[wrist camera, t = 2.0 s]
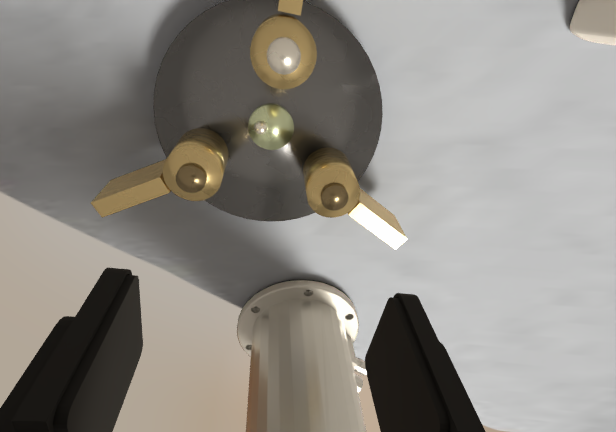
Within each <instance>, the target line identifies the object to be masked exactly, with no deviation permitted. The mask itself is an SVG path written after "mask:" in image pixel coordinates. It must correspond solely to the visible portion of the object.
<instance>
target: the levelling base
mask: <svg viewBox="0 0 616 432" xmlns="http://www.w3.org/2000/svg"><path fill="white" fill-rule="evenodd" d="M278 1H279V0H229V1H226V2H223V3H220V4H218V5H216V6H214V7H212V8H211V9H209V10H207V11H205V12H203V13H202V14H201V15H199V16H198V17H197V18H195V19H194V20H193V21H191V22H190V23H189V24H188V25H187V26H186V27H185V28H184V29H183V30H182V31H181V32H180V33H179V35H178V36H177V37H176V39H175V40H174V42H173V43H172V44H171V46H170V47H169V49H168V51H167V53H166V55H165V57H164V59H163V61H162V63H161V66H160V69H159V72H158V75H157V79H156V85H155V90H154V117H155V125H156V129H157V133H158V138H159V140H160V143H161V146H162V148H163V151H164V153H165V155H166V157H167V158H168V156H169V155H170V153H171V152H172V150H173V149H174V147H175V146H176V144H177V143H178V141H179V140H180V138H181V137H182V135H183V134H185V133H186V132H187V131H189V130H192V129H196V128H205V129H209V130H211V131H213V132H215V133H217V134H218V135H219V136H220V137H221V138H222V139H223V140H224V141H225V143H226V145H227V148H228V161H227V164H226V168H225V171H224V175H223V178H222V182H221V185H220V188H219V189H218V191H217V192H216V193H215V194H214V195H213V196H212V197H210V198H208V199H205V201H207V202H208V203H210V204H211V205H213V206H215V207H217V208H219V209H220V210H223V211H225V212H228V213H230V214H232V215H236V216H239V217H243V218H246V219H252V220H258V221H285V220H291V219H297V218H300V217H304V216H307V215H310V214H313V213H315V211H313V210H312V208H311V207H310V205H309V203H308V200H307V194H306V188H305V182H304V175H303V166H304V163H305V161H306V159H307V158H308V156H309V155H310V154H311V153H313V152H314V151H316V150H318V149H321V148H335V149H337V150H339V151H341V152H342V153H343V154H345V156H346V157H347V159H348V161H349V163H350V165H351V168H352V170H353V172H354V174H355V177H356V179H357V181H358V180H359V179H360V177H361V176H362V174H363V173H364V172H365V170H366V169H367V167H368V165H369V163H370V161H371V159H372V157H373V155H374V152H375V150H376V147H377V144H378V140H379V136H380V131H381V124H382V98H381V92H380V86H379V83H378V80H377V76H376V73H375V70H374V68H373V66H372V64H371V61H370V59H369V57H368V55H367V54H366V52H365V51H364V49H363V48H362V46H361V44H360V43H359V42H358V41H357V39H356V38H355V37H354V36H353V35H352V34H351V32H350V31H349V30H348V29H347V28H346V27H344V26H343V25H342V24H341V23H340V22H339V21H338V20H336V19H335V18H334V17H332V16H331V15H329V14H328V13H326V12H324V11H323V10H321V9H319V8H317V7H315V6H313V5H311V4H308V3H306V2H303V4H302V11H301V16H300V15H295V14H291V13H286V12H281V11H278ZM275 14H288V15H291V16H293V17H295V18H297V19H298V20H299V21H300V22H301V23H302V24H303V25H304V26H305V27H306V28H307V29H308V30H309V32H310V33H311V35H312V37H313V39H314V41H315V45H316V50H317V58H316V64H315V67H314V70H313V72H312V73H311V75H310V76H309V78H308V79H307V80H306V81H305V82H304V83H302V84H301V85H299V86H297V87H295V88H291V89H277V88H274V87H271V86H269V85H267V84H266V83H265V82H263V81H262V80H261V79H260V78H259V77H258V75H257V74H256V72H255V70H254V68H253V66H252V63H251V58H250V47H251V42H252V39H253V37H254V34H255V32H256V31H257V29H258V27H259V25H260V24H261V23H262V22H263V21H264V20H265V19H266V18H268V17H270V16H272V15H275Z"/></svg>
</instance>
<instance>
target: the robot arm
mask: <svg viewBox="0 0 616 432" xmlns="http://www.w3.org/2000/svg"><path fill="white" fill-rule="evenodd" d="M139 293H140V292H139V279H138V276H133V275H132V273H131V270H128V269H116V268H106V269H105V270H104V271H103V273H102V275H101V276H100V278H99V280H98V281H97V283H96V285H95V286H94V288H93V289H92V291H91V292H90V294H89V296H88V297H87V299H86V300H85V302H84V304H83V305H82V307H81V309H80V310H79V312H78V313H77V315H76V317H69V316H67V317H63V318H62V319H60V320H59V322H58V323H57V324H56V326H55V327H54V328H53V330H52V331H51V333H50V334H49V336H48V337H47V339H46V340H45V342H44V343H43V345H42V347H41V348H40V349H39V351H38V353H37V354H36V355H35V357H34V359H33V360H32V361H31V363H30V364H29V366H28V367H27V369H26V370H25V372H24V374H23V375H22V377H21V378H20V380H19V381H18V383H17V384H16V386H15V387H14V389H13V390H12V392H11V393H10V395H9V396H8V398H7V399H6V401H5V402H4V404H3V405H2V407H1V408H0V432H112V431H113V428H114V426H115V423H116V421H117V418H118V415H119V412H120V410H121V407H122V404H123V402H124V399H125V396H126V394H127V391H128V388H129V386H130V383H131V380H132V377H133V375H134V372H135V369H136V367H137V364H138V361H139V359H140V356H141V352H142V347H143V339H142V323H141V308H140V294H139ZM358 327H359V322H358V316H357V313H356V310H355V307H354V305H353V303H352V302H351V300H350V299H349V298H348V297H347V296H346V295H345V294H344V293H343V292H341V291H340V290H338V289H336V288H335V287H332V286H330V285H327V284H325V283H321V282H316V281H308V280H296V281H287V282H282V283H278V284H275V285H272V286H270V287H268V288H265V289H263V290H262V291H260V292H259V293H257V294H255V295H254V296H253V297H252V298H251V299H250V300H249V301H248V302H247V303H246V304H245V306H244V307H243V309H242V310H241V313H240V316H239V319H238V326H237V336H238V340H239V343H240V345H241V347H242V348H243V350H244V351H245V352H246V353H247V354H248V355H249V356H250V357H251V362H250V377H249V393H248V407H247V422H246V432H366V428H365V423H364V418H363V413H362V409H361V403H360V399H359V394H358V392H359V391H360V390H361V388H362V385H363V381H362V378H361V377H360V376H358V375H356V374H354V371H356V372H358V373H360V374H362V375H366V374H367V377H368V381H369V385H370V389H371V393H372V397H373V402H374V406H375V410H376V414H377V418H378V422H379V426H380V430H381V432H485V430H484V428H483V426H482V424H481V422H480V419H479V417H478V415H477V413H476V411H475V409H474V407H473V405H472V403H471V401H470V399H469V397H468V395H467V392H466V390H465V388H464V386H463V384H462V382H461V380H460V378H459V376H458V374H457V372H456V370H455V368H454V365H453V363H452V361H451V359H450V357H449V355H448V353H447V351H446V349H445V347H444V346H443V344H441V343H440V342H439V340H438V338H437V336H436V334H435V332H434V330H433V328H432V326H431V324H430V321H429V319H428V317H427V315H426V313H425V311H424V309H423V307H422V305H421V302H420V300H419V298H418V297H417V296H416V295H412V294H401V293H396V294H395V295H394V297H393V298H389V299H388V301H387V304H386V306H385V309H384V311H383V314H382V316H381V319H380V321H379V324H378V326H377V329H376V331H375V334H374V336H373V339H372V341H371V344H370V346H369V349H368V352H367V354H366V357H365V361H363V360H362V359H359V358H356V357H355V352H354V348H353V342H354V341H355V339H356V336H357V333H358Z"/></svg>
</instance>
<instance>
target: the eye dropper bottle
mask: <svg viewBox="0 0 616 432" xmlns="http://www.w3.org/2000/svg"><path fill="white" fill-rule="evenodd" d="M570 31H571V32H572V33H573V34H574V35H576V36H577V37H579V38H581V39H583V40H586V41H590V42H595V43H601V44H608V45H615V46H616V0H579V2H578V4H577V7H576V9H575V12H574V15H573V18H572V20H571V23H570Z"/></svg>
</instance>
